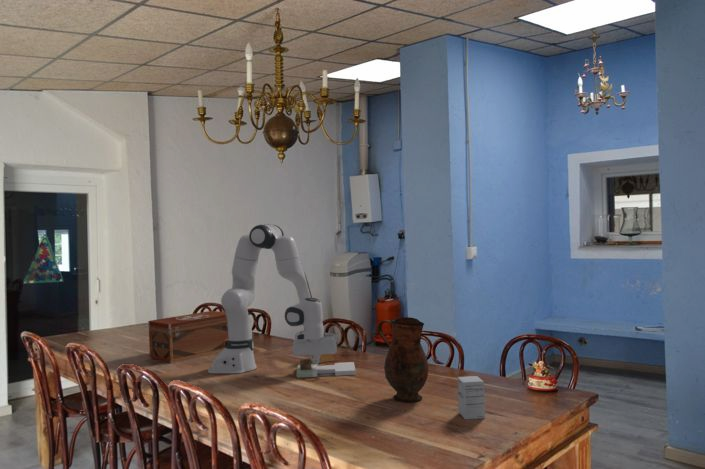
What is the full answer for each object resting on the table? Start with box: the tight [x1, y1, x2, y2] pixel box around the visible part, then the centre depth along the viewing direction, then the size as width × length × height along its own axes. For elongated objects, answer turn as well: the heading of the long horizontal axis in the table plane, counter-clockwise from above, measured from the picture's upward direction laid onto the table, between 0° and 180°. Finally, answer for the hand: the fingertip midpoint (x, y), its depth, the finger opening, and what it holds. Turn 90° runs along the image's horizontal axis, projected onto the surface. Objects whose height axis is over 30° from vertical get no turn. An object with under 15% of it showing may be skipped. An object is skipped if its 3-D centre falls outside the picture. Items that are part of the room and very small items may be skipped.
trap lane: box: [296, 361, 357, 379], centre depth 273 cm, size 26×16×2 cm, turn 93°
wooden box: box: [148, 310, 228, 364], centre depth 324 cm, size 20×41×20 cm, turn 139°
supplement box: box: [457, 375, 486, 420], centre depth 205 cm, size 7×7×13 cm
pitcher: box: [377, 316, 429, 403], centre depth 229 cm, size 17×21×30 cm
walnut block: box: [299, 358, 312, 370], centre depth 273 cm, size 5×5×4 cm
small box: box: [313, 335, 335, 364], centre depth 295 cm, size 8×6×13 cm
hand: (315, 364), depth 273 cm, fingers closed
